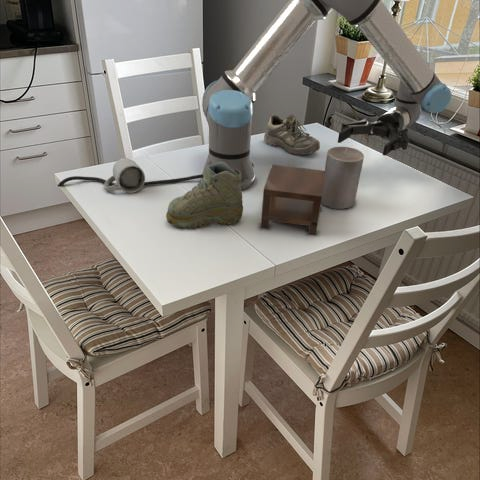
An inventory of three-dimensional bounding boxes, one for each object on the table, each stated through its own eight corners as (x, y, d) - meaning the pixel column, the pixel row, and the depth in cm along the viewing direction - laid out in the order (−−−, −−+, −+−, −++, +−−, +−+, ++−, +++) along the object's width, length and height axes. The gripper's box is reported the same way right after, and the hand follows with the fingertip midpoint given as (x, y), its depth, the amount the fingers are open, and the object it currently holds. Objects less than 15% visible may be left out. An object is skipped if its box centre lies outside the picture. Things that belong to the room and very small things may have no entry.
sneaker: (170, 206, 134) (168, 153, 124) (242, 211, 135) (246, 159, 124) (164, 230, 127) (161, 176, 116) (241, 236, 127) (245, 182, 116)
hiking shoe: (308, 155, 160) (319, 116, 157) (254, 145, 170) (264, 108, 168) (320, 162, 167) (331, 125, 165) (268, 151, 178) (278, 116, 176)
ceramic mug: (137, 178, 147) (134, 152, 142) (146, 190, 141) (144, 164, 136) (101, 185, 143) (97, 158, 138) (109, 197, 138) (105, 170, 133)
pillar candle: (326, 190, 146) (334, 139, 137) (358, 198, 143) (369, 146, 134) (314, 204, 139) (322, 150, 130) (348, 213, 136) (359, 159, 127)
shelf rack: (260, 227, 128) (263, 189, 121) (269, 201, 140) (272, 164, 133) (315, 235, 127) (322, 196, 120) (319, 207, 138) (325, 170, 131)
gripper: (428, 146, 149) (401, 169, 136) (352, 126, 160) (319, 146, 147) (436, 120, 145) (408, 141, 131) (356, 101, 155) (323, 119, 142)
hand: (361, 144), depth 139 cm, fingers open, 13 cm apart
